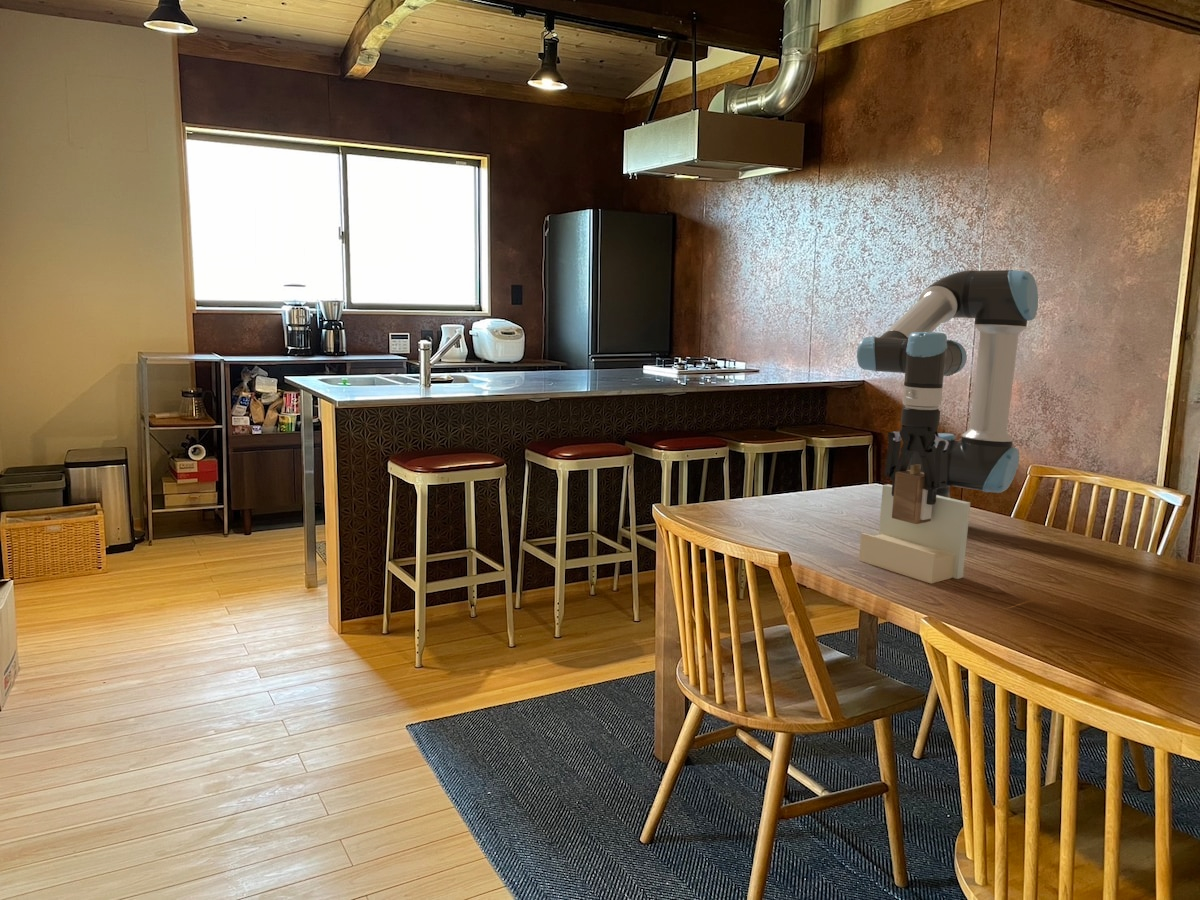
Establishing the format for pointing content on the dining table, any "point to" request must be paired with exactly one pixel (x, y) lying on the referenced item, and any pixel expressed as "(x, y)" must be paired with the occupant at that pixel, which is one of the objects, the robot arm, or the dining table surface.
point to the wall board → (920, 541)
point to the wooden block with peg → (909, 495)
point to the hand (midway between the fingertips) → (911, 515)
